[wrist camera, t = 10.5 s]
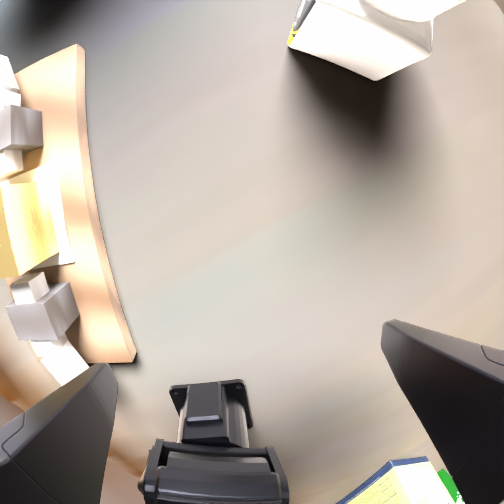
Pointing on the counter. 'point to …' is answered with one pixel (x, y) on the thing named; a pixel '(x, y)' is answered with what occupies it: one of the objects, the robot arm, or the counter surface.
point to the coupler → (25, 228)
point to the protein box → (402, 485)
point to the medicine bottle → (367, 32)
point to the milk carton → (450, 486)
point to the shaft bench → (60, 220)
